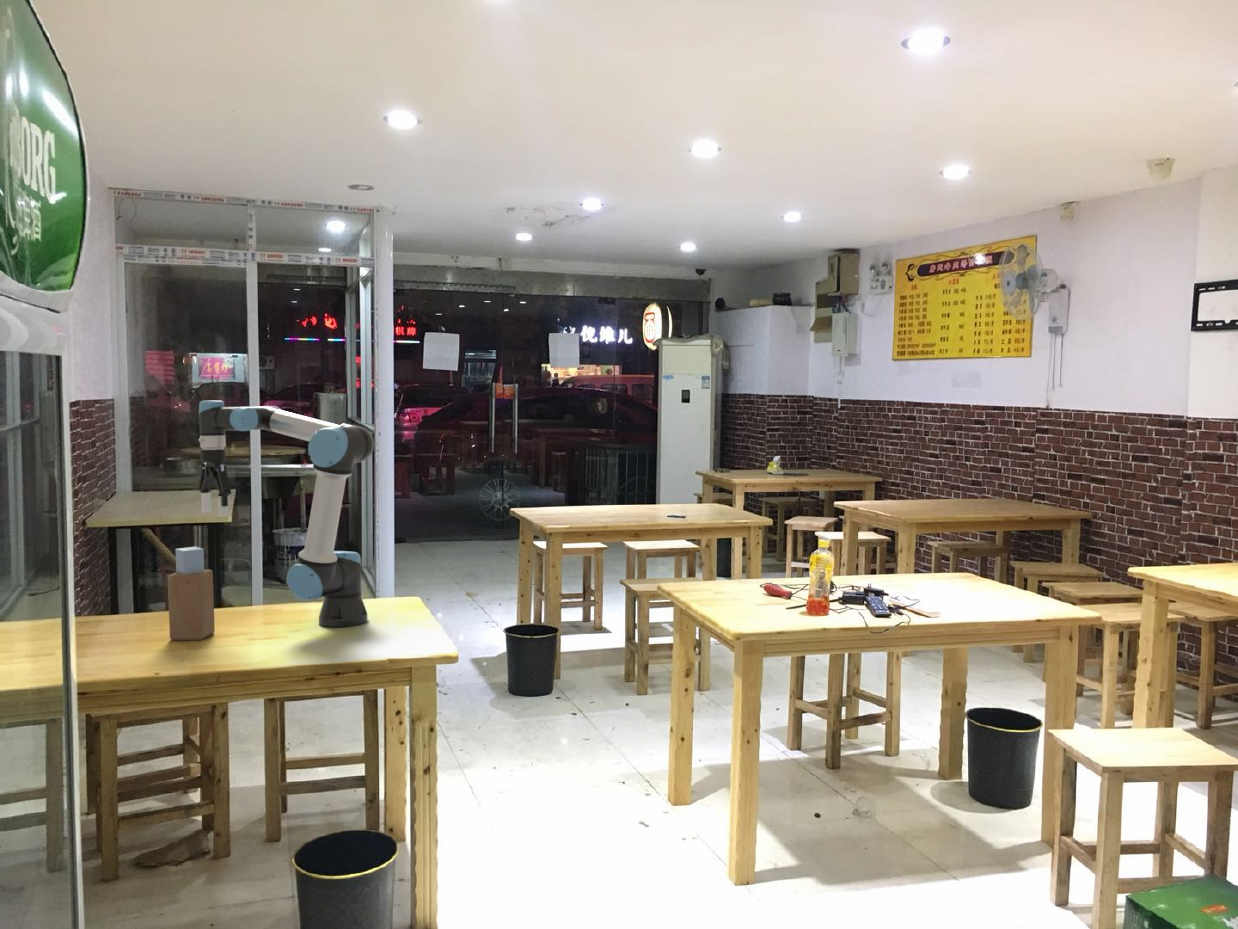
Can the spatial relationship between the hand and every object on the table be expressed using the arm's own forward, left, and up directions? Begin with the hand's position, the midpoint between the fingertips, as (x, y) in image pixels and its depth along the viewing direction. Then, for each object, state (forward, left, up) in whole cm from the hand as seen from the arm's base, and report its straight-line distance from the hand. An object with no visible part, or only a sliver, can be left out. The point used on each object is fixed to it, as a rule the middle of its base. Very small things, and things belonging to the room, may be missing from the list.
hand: (215, 514), depth 313 cm
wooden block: (+14, +15, -35) cm, 40 cm away
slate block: (+14, +15, -15) cm, 25 cm away
